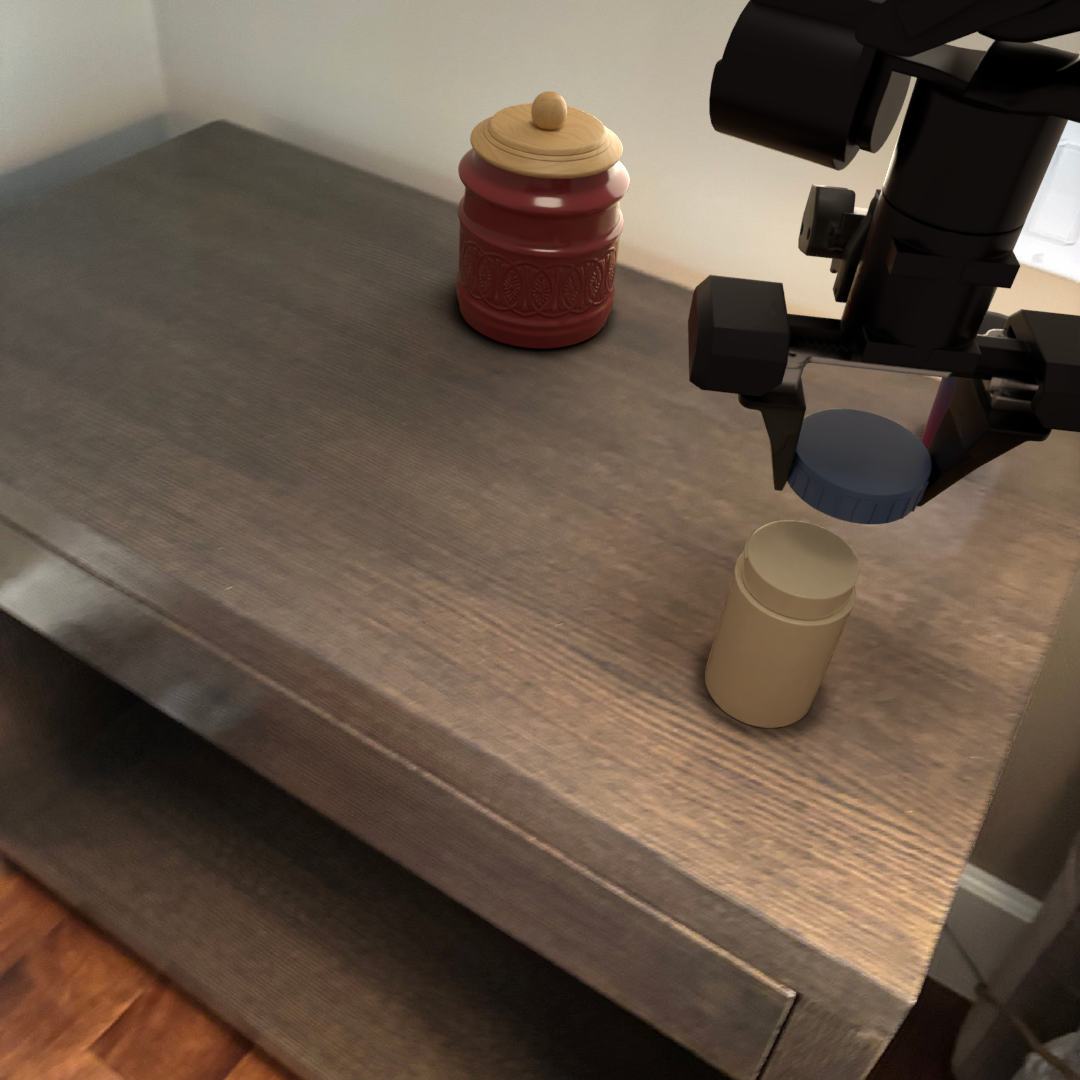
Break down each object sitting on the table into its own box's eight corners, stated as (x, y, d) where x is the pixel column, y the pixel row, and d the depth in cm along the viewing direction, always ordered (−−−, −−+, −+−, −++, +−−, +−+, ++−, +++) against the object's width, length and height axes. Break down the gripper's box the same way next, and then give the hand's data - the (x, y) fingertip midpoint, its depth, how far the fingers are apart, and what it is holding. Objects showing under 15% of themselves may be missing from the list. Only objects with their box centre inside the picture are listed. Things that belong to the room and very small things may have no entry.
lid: (816, 420, 55) (825, 391, 54) (939, 473, 52) (952, 444, 51) (759, 484, 51) (767, 454, 49) (890, 546, 48) (903, 516, 47)
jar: (808, 649, 60) (857, 523, 53) (818, 735, 56) (873, 610, 49) (703, 635, 60) (739, 508, 53) (704, 720, 56) (743, 594, 49)
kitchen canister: (640, 333, 84) (676, 116, 72) (499, 367, 79) (511, 141, 67) (563, 259, 92) (583, 52, 80) (430, 286, 87) (430, 70, 75)
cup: (921, 418, 78) (968, 303, 71) (980, 439, 77) (1035, 323, 70) (906, 450, 75) (955, 332, 68) (969, 472, 74) (1024, 354, 67)
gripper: (1121, 146, 47) (993, 419, 58) (716, 103, 47) (664, 382, 58) (1214, 264, 39) (1046, 556, 50) (726, 211, 39) (663, 512, 50)
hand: (846, 493), depth 52 cm, fingers closed on lid, 7 cm apart
